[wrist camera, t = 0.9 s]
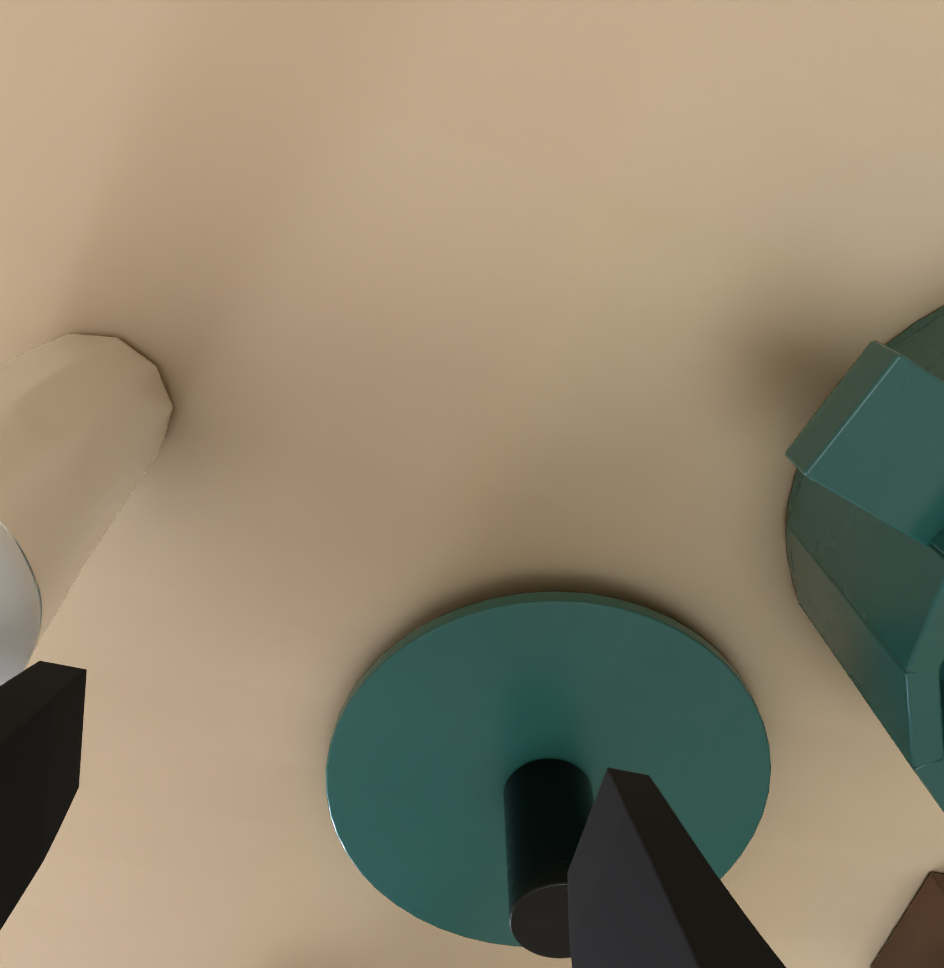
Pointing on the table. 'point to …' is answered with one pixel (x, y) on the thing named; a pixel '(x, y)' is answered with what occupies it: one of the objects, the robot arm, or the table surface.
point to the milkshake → (66, 470)
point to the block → (918, 931)
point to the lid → (534, 755)
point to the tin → (880, 536)
